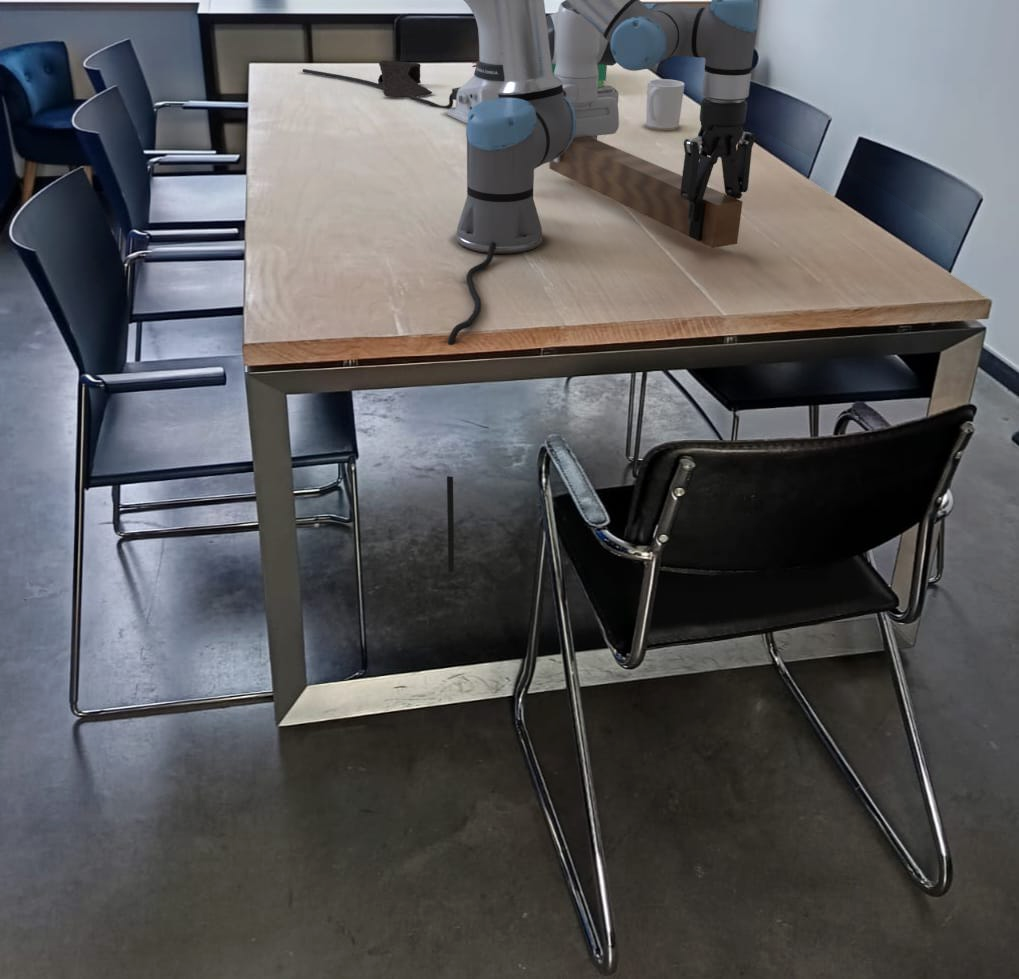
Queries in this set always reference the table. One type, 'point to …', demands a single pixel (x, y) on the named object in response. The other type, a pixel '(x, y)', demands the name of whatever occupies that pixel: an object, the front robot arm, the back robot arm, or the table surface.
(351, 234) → the table surface
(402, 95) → the axe head
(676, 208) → the post
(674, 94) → the mug
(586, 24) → the back robot arm
